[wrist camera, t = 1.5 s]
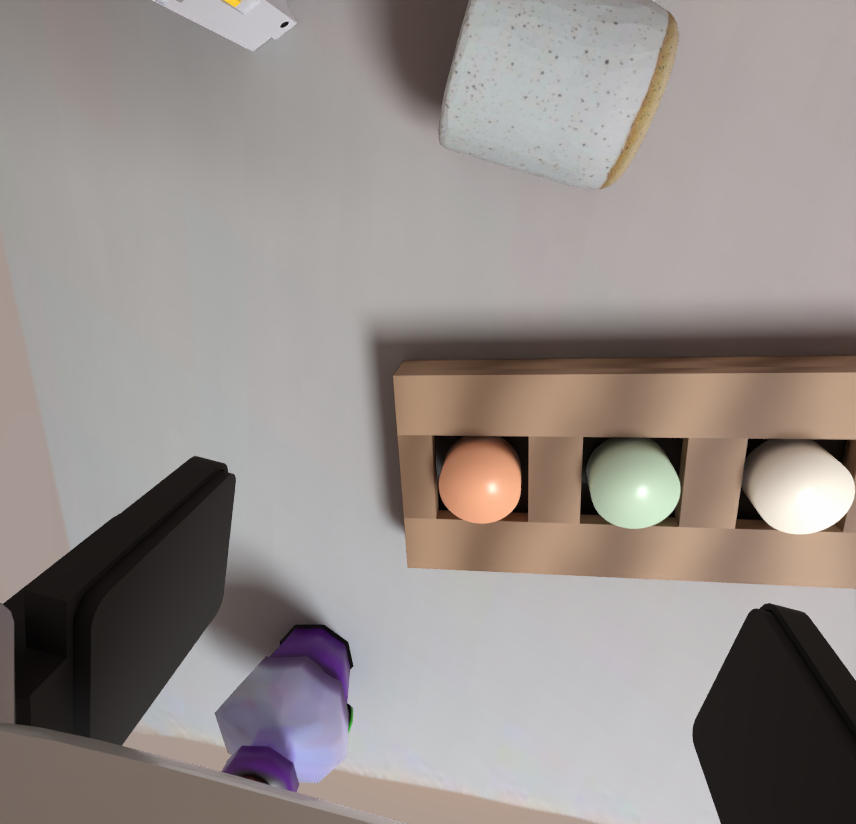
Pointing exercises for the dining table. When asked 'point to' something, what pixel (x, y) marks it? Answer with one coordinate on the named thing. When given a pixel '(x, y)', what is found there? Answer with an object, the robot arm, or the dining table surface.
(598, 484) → the sage button
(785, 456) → the cream button
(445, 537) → the button deck
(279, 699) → the potion bottle
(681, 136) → the dining table surface
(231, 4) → the walkman
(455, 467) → the terracotta button
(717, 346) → the dining table surface
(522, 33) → the ceramic mug
